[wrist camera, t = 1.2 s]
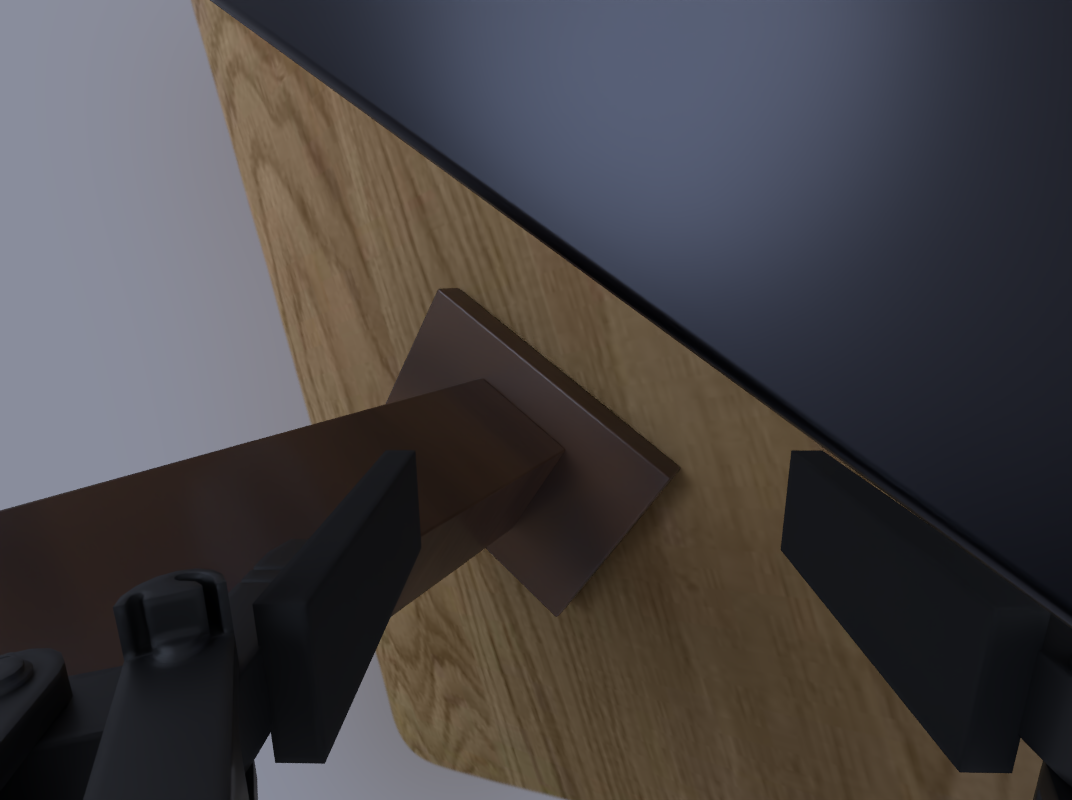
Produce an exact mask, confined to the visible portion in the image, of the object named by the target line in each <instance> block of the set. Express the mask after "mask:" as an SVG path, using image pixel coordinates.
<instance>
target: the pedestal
mask: <svg viewBox="0 0 1072 800" xmlns="http://www.w3.org/2000/svg"><path fill="white" fill-rule="evenodd" d="M210 1H212V2H213V3H215V4H216V5H217V6H219V7H220V8H221V9H223V10H224V11H226V12H227V13H228V14H230V15H231V16H232V17H234V18H235V19H237V20H238V21H239V22H241V23H242V24H243V25H245V26H246V27H247V28H249V29H250V30H252V31H253V32H254V33H256V34H257V35H258V36H260V37H261V38H263V39H264V40H265V41H267V42H268V43H269V44H271V45H272V46H274V47H275V48H276V49H278V50H279V51H280V52H282V53H283V54H285V55H286V56H287V57H289V58H290V59H291V60H293V61H294V62H295V63H297V64H298V65H300V66H301V67H302V68H304V69H305V70H306V71H308V72H309V73H311V74H312V75H313V76H315V77H316V78H317V79H319V80H320V81H322V82H323V83H324V84H326V85H327V86H328V87H330V88H331V89H333V90H334V91H335V92H337V93H338V94H339V95H341V96H342V97H343V98H345V99H346V100H348V101H349V102H350V103H352V104H353V105H354V106H356V107H357V108H359V109H360V110H361V111H363V112H364V113H365V114H367V115H368V116H370V117H371V118H372V119H374V120H375V121H376V122H378V123H379V124H380V125H382V126H383V127H385V128H386V129H387V130H389V131H390V132H391V133H393V134H394V135H396V136H397V137H398V138H400V139H401V140H402V141H404V142H405V143H407V144H408V145H409V146H411V147H412V148H413V149H415V150H416V151H418V152H419V153H420V154H422V155H423V156H424V157H426V158H427V159H428V160H430V161H431V162H433V163H434V164H435V165H437V166H438V167H439V168H441V169H442V170H444V171H445V172H446V173H448V174H449V175H450V176H452V177H453V178H455V179H456V180H457V181H459V182H460V183H461V184H463V185H464V186H466V187H467V188H468V189H470V190H471V191H472V192H474V193H475V194H476V195H478V196H479V197H481V198H482V199H483V200H485V201H486V202H487V203H489V204H490V205H492V206H493V207H494V208H496V209H497V210H498V211H500V212H501V213H503V214H504V215H505V216H507V217H508V218H509V219H511V220H512V221H514V222H515V223H516V224H518V225H519V226H520V227H522V228H523V229H524V230H526V231H527V232H529V233H530V234H531V235H533V236H534V237H535V238H537V239H538V240H540V241H541V242H542V243H544V244H545V245H546V246H548V247H549V248H551V249H552V250H553V251H555V252H556V253H557V254H559V255H560V256H561V257H563V258H564V259H566V260H567V261H568V262H570V263H571V264H572V265H574V266H575V267H577V268H578V269H579V270H581V271H582V272H583V273H585V274H586V275H588V276H589V277H590V278H592V279H593V280H594V281H596V282H597V283H599V284H600V285H601V286H603V287H604V288H605V289H607V290H608V291H609V292H611V293H612V294H614V295H615V296H616V297H618V298H619V299H620V300H622V301H623V302H625V303H626V304H627V305H629V306H630V307H631V308H633V309H634V310H636V311H637V312H638V313H640V314H641V315H642V316H644V317H645V318H647V319H648V320H649V321H651V322H652V323H653V324H655V325H656V326H657V327H659V328H660V329H662V330H663V331H664V332H666V333H667V334H668V335H670V336H671V337H673V338H674V339H675V340H677V341H678V342H679V343H681V344H682V345H684V346H685V347H686V348H688V349H689V350H690V351H692V352H693V353H694V354H696V355H697V356H699V357H700V358H701V359H703V360H704V361H705V362H707V363H708V364H710V365H711V366H712V367H714V368H715V369H716V370H718V371H719V372H721V373H722V374H723V375H725V376H726V377H727V378H729V379H730V380H732V381H733V382H734V383H736V384H737V385H738V386H740V387H741V388H742V389H744V390H745V391H747V392H748V393H749V394H751V395H752V396H753V397H755V398H756V399H758V400H759V401H760V402H762V403H763V404H764V405H766V406H767V407H769V408H770V409H771V410H773V411H774V412H775V413H777V414H778V415H780V416H781V417H782V418H784V419H785V420H786V421H788V422H789V423H790V424H792V425H793V426H795V427H796V428H797V429H799V430H800V431H801V432H803V433H804V434H806V435H807V436H808V437H810V438H811V439H812V440H814V441H815V442H817V443H818V444H819V445H821V446H822V447H823V448H825V449H826V450H828V451H829V452H830V453H832V454H833V455H834V456H836V457H837V458H838V459H840V460H841V461H843V462H844V463H845V464H847V465H848V466H849V467H851V468H852V469H854V470H855V471H856V472H858V473H859V474H860V475H862V476H863V477H865V478H866V479H867V480H869V481H870V482H871V483H873V484H874V485H875V486H877V487H878V488H880V489H881V490H882V491H884V492H885V493H886V494H888V495H889V496H891V497H892V498H893V499H895V500H896V501H897V502H899V503H900V504H902V505H903V506H904V507H906V508H907V509H908V510H910V511H911V512H913V513H914V514H915V515H917V516H918V517H919V518H921V519H922V520H923V521H925V522H926V523H928V524H929V525H930V526H932V527H933V528H934V529H936V530H937V531H939V532H940V533H941V534H943V535H944V536H945V537H947V538H948V539H950V540H951V541H952V542H954V543H955V544H956V545H958V546H959V547H961V548H962V549H963V550H965V551H966V552H967V553H969V554H970V555H971V556H973V557H974V558H976V559H977V560H978V561H980V562H981V563H982V564H984V565H985V566H987V567H988V568H989V569H991V570H992V571H993V572H995V573H996V574H998V575H999V576H1000V577H1002V578H1003V579H1004V580H1006V581H1007V582H1008V583H1010V584H1011V585H1013V586H1014V587H1015V588H1017V589H1018V590H1019V591H1021V592H1022V593H1024V594H1025V595H1026V596H1028V597H1029V598H1030V599H1032V600H1033V601H1035V602H1036V603H1037V604H1039V605H1040V606H1041V607H1043V608H1044V609H1046V610H1047V611H1048V612H1050V613H1051V614H1052V615H1054V616H1055V617H1056V618H1058V619H1059V620H1061V621H1062V622H1063V623H1065V624H1066V625H1067V626H1069V627H1070V628H1072V0H210Z"/></svg>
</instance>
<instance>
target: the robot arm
mask: <svg viewBox="0 0 1072 800" xmlns="http://www.w3.org/2000/svg"><path fill="white" fill-rule="evenodd" d="M421 548H422V547H421V531H420V515H419V498H418V482H417V466H416V450H386V451H385V452H384V453H383V454H382V455H381V456H380V458H379V459H378V460H377V461H376V462H375V463H374V464H373V466H372V467H371V468H370V469H369V470H368V471H367V472H366V474H365V475H364V476H363V477H362V478H361V479H360V481H359V482H358V483H357V484H356V485H355V486H354V487H353V489H352V490H351V491H350V492H349V493H348V494H347V495H346V497H345V498H344V499H343V500H342V501H341V502H340V504H339V505H338V506H337V507H336V508H335V509H334V510H333V512H332V513H331V514H330V515H329V516H328V517H327V518H326V520H325V521H324V522H323V523H322V524H321V525H320V527H319V528H318V529H317V530H316V531H315V532H314V533H313V535H312V536H311V537H310V538H309V539H290V540H288V541H286V542H285V543H283V544H281V545H279V546H278V547H276V548H274V549H272V550H270V551H269V552H268V553H267V554H266V555H265V556H264V557H263V558H262V559H261V560H260V561H259V562H258V563H257V564H256V565H255V566H254V569H253V570H250V571H249V572H248V573H247V574H246V575H245V576H244V577H243V578H242V579H241V583H237V584H236V586H235V587H234V588H233V589H232V590H231V591H230V592H229V593H228V589H227V583H226V580H225V578H224V575H223V574H222V573H220V572H217V571H215V570H213V569H199V568H195V569H187V570H180V571H175V572H171V573H168V574H164V575H161V576H157V577H154V578H152V579H150V580H148V581H146V582H143V583H141V584H139V585H137V586H135V587H134V588H132V589H131V590H129V591H128V592H126V593H125V594H124V595H122V596H121V597H120V598H119V600H118V601H117V602H116V604H115V605H114V606H113V611H114V615H115V620H116V625H117V629H118V634H119V639H120V643H121V648H122V653H123V658H124V663H123V665H122V666H118V667H113V668H108V669H103V670H97V671H92V672H87V673H82V674H77V675H72V676H68V674H67V670H66V665H65V661H64V658H63V656H62V653H61V652H59V651H56V650H53V649H50V648H36V649H27V650H22V651H18V652H10V653H6V654H3V655H0V800H258V793H257V775H256V768H255V762H254V759H255V758H256V756H257V754H258V753H259V751H260V749H261V748H262V746H263V744H264V742H265V741H266V739H267V737H268V736H269V734H270V732H271V736H272V743H273V750H274V757H275V763H322V764H323V763H325V762H326V759H327V757H328V755H329V753H330V751H331V748H332V746H333V744H334V742H335V739H336V737H337V735H338V733H339V730H340V728H341V726H342V724H343V722H344V720H345V717H346V715H347V713H348V710H349V708H350V706H351V704H352V702H353V699H354V697H355V695H356V693H357V691H358V688H359V686H360V684H361V682H362V679H363V677H364V675H365V673H366V670H367V668H368V666H369V664H370V662H371V659H372V657H373V655H374V653H375V651H376V648H377V646H378V644H379V642H380V639H381V637H382V635H383V633H384V630H385V628H386V626H387V624H388V622H389V619H390V617H391V615H392V613H393V610H394V608H395V606H396V604H397V602H398V599H399V597H400V595H401V593H402V590H403V588H404V586H405V584H406V581H407V579H408V577H409V575H410V573H411V570H412V568H413V566H414V564H415V561H416V559H417V557H418V555H419V553H420V550H421ZM781 551H782V552H783V553H784V554H785V556H786V557H787V558H788V559H789V561H790V562H791V563H792V564H793V566H794V567H795V568H796V569H797V571H798V572H799V573H800V574H801V576H802V577H803V578H804V579H805V581H806V582H807V583H808V584H809V586H810V587H811V588H812V589H813V591H814V592H815V593H816V594H817V596H818V597H819V598H820V599H821V601H822V602H823V603H824V604H825V605H826V607H827V608H828V609H829V610H830V612H831V613H832V614H833V615H834V617H835V618H836V619H837V620H838V622H839V623H840V624H841V625H842V627H843V628H844V629H845V630H846V632H847V633H848V634H849V635H850V637H851V638H852V639H853V640H854V642H855V643H856V644H857V645H858V647H859V648H860V649H861V650H862V652H863V653H864V654H865V655H866V657H867V658H868V659H869V660H870V662H871V663H872V664H873V665H874V666H875V668H876V669H877V670H878V671H879V673H880V674H881V675H882V676H883V678H884V679H885V680H886V681H887V683H888V684H889V685H890V686H891V688H892V689H893V690H894V691H895V693H896V694H897V695H898V696H899V698H900V699H901V700H902V701H903V703H904V704H905V705H906V706H907V708H908V709H909V710H910V711H911V713H912V714H913V715H914V716H915V718H916V719H917V720H918V721H919V723H920V724H921V725H922V726H923V728H924V729H925V730H926V731H927V732H928V734H929V735H930V736H931V737H932V739H933V740H934V741H935V742H936V744H937V745H938V746H939V747H940V749H941V750H942V751H943V752H944V754H945V755H946V756H947V757H948V759H949V760H950V761H951V762H952V764H953V765H954V766H955V767H956V769H957V770H958V771H959V772H969V773H1012V771H1013V766H1014V762H1015V758H1016V754H1017V750H1018V746H1019V742H1020V738H1022V740H1023V741H1024V742H1025V743H1026V744H1027V745H1028V746H1029V747H1030V748H1031V749H1032V750H1033V751H1034V752H1035V753H1036V754H1037V755H1038V756H1039V757H1040V758H1041V759H1042V760H1043V763H1042V767H1041V771H1040V775H1039V778H1038V782H1037V786H1036V790H1035V794H1034V798H1033V800H1072V628H1070V627H1069V626H1067V625H1066V624H1065V623H1063V622H1062V621H1061V620H1059V619H1058V618H1056V617H1055V616H1054V615H1052V614H1051V613H1050V612H1048V611H1047V610H1046V609H1044V608H1043V607H1041V606H1040V605H1039V604H1037V603H1036V602H1035V601H1033V600H1032V599H1030V598H1029V597H1028V596H1026V595H1025V594H1024V593H1022V592H1021V591H1019V590H1018V589H1017V588H1015V587H1014V586H1013V585H1011V584H1010V583H1008V582H1007V581H1006V580H1004V579H1003V578H1002V577H1000V576H999V575H998V574H996V573H995V572H993V571H992V570H991V569H989V568H988V567H987V566H985V565H984V564H982V563H981V562H980V561H978V560H977V559H976V558H974V557H973V556H971V555H970V554H969V553H967V552H966V551H965V550H963V549H962V548H961V547H959V546H958V545H956V544H955V543H954V542H952V541H951V540H950V539H948V538H947V537H945V536H944V535H943V534H941V533H940V532H939V531H937V530H936V529H934V528H933V527H931V526H930V525H929V524H927V523H926V522H924V521H923V520H921V519H920V518H919V517H917V516H916V515H914V514H913V513H911V512H910V511H908V510H907V509H906V508H904V507H903V506H901V505H900V504H898V503H897V502H895V501H894V500H893V499H891V498H890V497H888V496H887V495H885V494H884V493H883V492H881V491H880V490H878V489H877V488H875V487H874V486H872V485H871V484H870V483H868V482H867V481H865V480H864V479H862V478H861V477H859V476H858V475H857V474H855V473H854V472H852V471H851V470H849V469H848V468H846V467H845V466H844V465H842V464H841V463H839V462H838V461H836V460H835V459H834V458H832V457H831V456H829V455H828V454H826V453H825V452H823V451H791V460H790V469H789V478H788V487H787V497H786V506H785V515H784V524H783V533H782V543H781Z"/></svg>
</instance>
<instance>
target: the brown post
mask: <svg viewBox="0 0 1072 800" xmlns="http://www.w3.org/2000/svg"><path fill="white" fill-rule="evenodd" d="M386 450H416V466H417V482H418V498H419V515H420V531H421V547H422V548H421V550H420V553H419V555H418V557H417V559H416V561H415V564H414V566H413V568H412V570H411V573H410V575H409V577H408V579H407V581H406V584H405V586H404V588H403V590H402V593H401V595H400V597H399V599H398V602H397V604H396V606H395V608H394V610H393V613H392V615H391V616H393V615H394V614H395V613H397V612H398V611H399V610H401V609H402V608H404V607H405V606H406V605H408V604H409V603H410V602H412V601H413V600H414V599H416V598H417V597H419V596H420V595H421V594H423V593H424V592H425V591H427V590H428V589H430V588H431V587H432V586H434V585H435V584H436V583H438V582H439V581H441V580H442V579H443V578H445V577H446V576H447V575H449V574H450V573H452V572H453V571H454V570H456V569H457V568H458V567H460V566H461V565H463V564H464V563H465V562H467V561H468V560H469V559H471V558H472V557H474V556H475V555H476V554H478V553H479V552H480V551H482V550H483V549H484V548H486V549H487V550H488V551H489V552H490V553H491V554H492V555H493V556H494V557H495V558H496V559H498V560H499V561H500V562H501V563H502V564H503V565H504V566H505V567H506V568H507V569H508V570H509V571H510V572H511V573H512V574H513V575H514V576H515V577H516V578H517V579H518V580H519V581H520V582H521V583H522V584H523V585H524V586H525V587H526V588H527V589H528V590H529V591H530V592H531V593H532V594H533V595H534V596H535V597H536V598H537V599H538V600H539V601H540V602H541V603H542V604H543V605H544V606H545V607H546V608H547V609H549V610H550V611H551V612H552V613H553V614H554V615H555V616H556V617H557V616H559V615H560V614H561V612H562V611H563V610H564V609H565V608H566V607H567V606H568V605H569V603H570V602H571V601H572V600H573V599H574V598H575V596H576V595H577V594H578V593H579V591H580V590H581V589H582V588H583V587H584V585H585V584H586V583H587V582H588V581H589V579H590V578H591V577H592V576H593V574H594V573H595V572H596V571H597V570H598V568H599V567H600V566H601V565H602V564H603V562H604V561H605V560H606V559H607V557H608V556H609V555H610V554H611V553H612V551H613V550H614V549H615V548H616V547H617V545H618V544H619V543H620V542H621V540H622V539H623V538H624V537H625V536H626V534H627V533H628V532H629V531H630V529H631V528H632V527H633V526H634V525H635V523H636V522H637V521H638V520H639V519H640V517H641V516H642V515H643V514H644V512H645V511H646V510H647V509H648V508H649V506H650V505H651V504H652V503H653V502H654V500H655V499H656V498H657V497H658V495H659V494H660V493H661V492H662V491H663V489H664V488H665V487H666V486H667V485H668V483H669V482H670V481H671V480H672V478H673V477H674V476H675V475H676V474H677V472H678V471H679V470H680V467H679V466H678V465H676V464H675V463H674V462H673V461H671V460H670V459H669V458H668V457H666V456H665V455H664V454H663V453H662V452H660V451H659V450H658V449H657V448H655V447H654V446H653V445H652V444H650V443H649V442H648V441H647V440H645V439H644V438H643V437H642V436H640V435H639V434H638V433H637V432H636V431H634V430H633V429H632V428H631V427H629V426H628V425H627V424H626V423H624V422H623V421H622V420H621V419H619V418H618V417H617V416H616V415H615V414H613V413H612V412H611V411H610V410H608V409H607V408H606V407H605V406H603V405H602V404H601V403H600V402H598V401H597V400H596V399H595V398H593V397H592V396H591V395H590V394H589V393H587V392H586V391H585V390H584V389H582V388H581V387H580V386H579V385H577V384H576V383H575V382H574V381H572V380H571V379H570V378H569V377H567V376H566V375H565V374H564V373H563V372H561V371H560V370H559V369H558V368H556V367H555V366H554V365H553V364H551V363H550V362H549V361H548V360H546V359H545V358H544V357H543V356H542V355H540V354H539V353H538V352H537V351H535V350H534V349H533V348H532V347H530V346H529V345H528V344H527V343H525V342H524V341H523V340H522V339H520V338H519V337H518V336H517V335H516V334H514V333H513V332H512V331H511V330H509V329H508V328H507V327H506V326H504V325H503V324H502V323H501V322H499V321H498V320H497V319H496V318H495V317H493V316H492V315H491V314H490V313H488V312H487V311H486V310H485V309H483V308H482V307H481V306H480V305H478V304H477V303H476V302H475V301H473V300H472V299H471V298H470V297H469V296H467V295H466V294H465V293H464V292H462V291H461V290H460V289H459V288H448V289H438V291H437V293H436V295H435V297H434V300H433V302H432V304H431V306H430V308H429V311H428V313H427V315H426V317H425V319H424V321H423V324H422V326H421V328H420V330H419V332H418V334H417V337H416V339H415V341H414V343H413V345H412V348H411V350H410V352H409V354H408V356H407V358H406V361H405V363H404V365H403V367H402V369H401V371H400V374H399V376H398V378H397V380H396V382H395V385H394V387H393V389H392V391H391V393H390V395H389V398H388V400H387V402H386V404H385V405H382V406H378V407H374V408H371V409H367V410H364V411H360V412H356V413H353V414H349V415H345V416H342V417H338V418H335V419H331V420H327V421H324V422H320V423H316V424H313V425H309V426H305V427H302V428H298V429H295V430H291V431H287V432H284V433H280V434H276V435H273V436H269V437H266V438H262V439H259V440H255V441H251V442H247V443H244V444H240V445H237V446H233V447H229V448H226V449H222V450H219V451H215V452H211V453H208V454H204V455H200V456H197V457H193V458H189V459H186V460H182V461H178V462H175V463H171V464H168V465H164V466H161V467H157V468H153V469H149V470H146V471H142V472H139V473H135V474H132V475H128V476H124V477H120V478H117V479H113V480H109V481H106V482H102V483H99V484H95V485H91V486H88V487H84V488H80V489H77V490H73V491H70V492H66V493H63V494H59V495H55V496H51V497H48V498H44V499H40V500H37V501H33V502H30V503H26V504H22V505H19V506H15V507H12V508H8V509H4V510H1V511H0V655H3V654H6V653H10V652H18V651H22V650H27V649H36V648H50V649H53V650H56V651H59V652H61V653H62V656H63V658H64V661H65V665H66V670H67V674H68V676H72V675H77V674H82V673H87V672H92V671H97V670H103V669H108V668H113V667H118V666H122V665H123V663H124V658H123V653H122V648H121V643H120V639H119V634H118V629H117V625H116V620H115V615H114V611H113V606H114V605H115V604H116V602H117V601H118V600H119V598H120V597H121V596H122V595H124V594H125V593H126V592H128V591H129V590H131V589H132V588H134V587H135V586H137V585H139V584H141V583H143V582H146V581H148V580H150V579H152V578H154V577H157V576H161V575H164V574H168V573H171V572H175V571H180V570H187V569H195V568H199V569H213V570H215V571H217V572H220V573H222V574H223V575H224V578H225V580H226V583H227V589H228V593H229V592H230V591H231V590H232V589H233V588H234V587H235V586H236V584H237V583H241V579H242V578H243V577H244V576H245V575H246V574H247V573H248V572H249V571H250V570H253V569H254V566H255V565H256V564H257V563H258V562H259V561H260V560H261V559H262V558H263V557H264V556H265V555H266V554H267V553H268V552H269V551H270V550H272V549H274V548H276V547H278V546H279V545H281V544H283V543H285V542H286V541H288V540H290V539H309V538H310V537H311V536H312V535H313V533H314V532H315V531H316V530H317V529H318V528H319V527H320V525H321V524H322V523H323V522H324V521H325V520H326V518H327V517H328V516H329V515H330V514H331V513H332V512H333V510H334V509H335V508H336V507H337V506H338V505H339V504H340V502H341V501H342V500H343V499H344V498H345V497H346V495H347V494H348V493H349V492H350V491H351V490H352V489H353V487H354V486H355V485H356V484H357V483H358V482H359V481H360V479H361V478H362V477H363V476H364V475H365V474H366V472H367V471H368V470H369V469H370V468H371V467H372V466H373V464H374V463H375V462H376V461H377V460H378V459H379V458H380V456H381V455H382V454H383V453H384V452H385V451H386Z"/></svg>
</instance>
